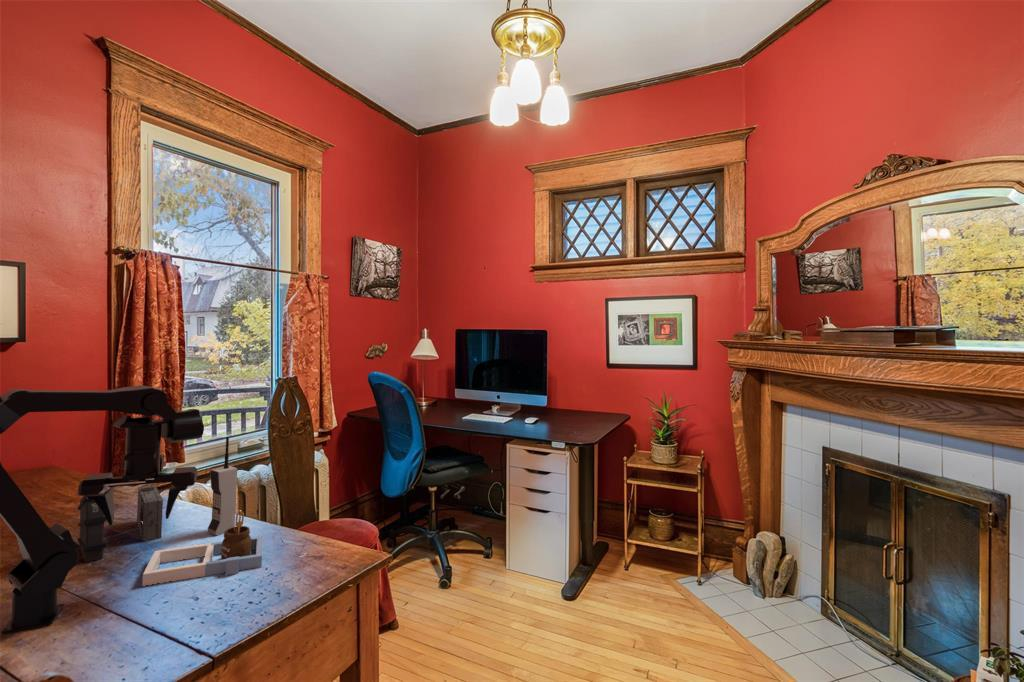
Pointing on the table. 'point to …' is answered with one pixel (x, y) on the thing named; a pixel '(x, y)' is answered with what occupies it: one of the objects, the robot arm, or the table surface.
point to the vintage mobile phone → (223, 497)
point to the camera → (149, 512)
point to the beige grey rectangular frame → (199, 569)
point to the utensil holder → (236, 540)
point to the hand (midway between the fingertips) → (140, 521)
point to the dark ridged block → (91, 530)
